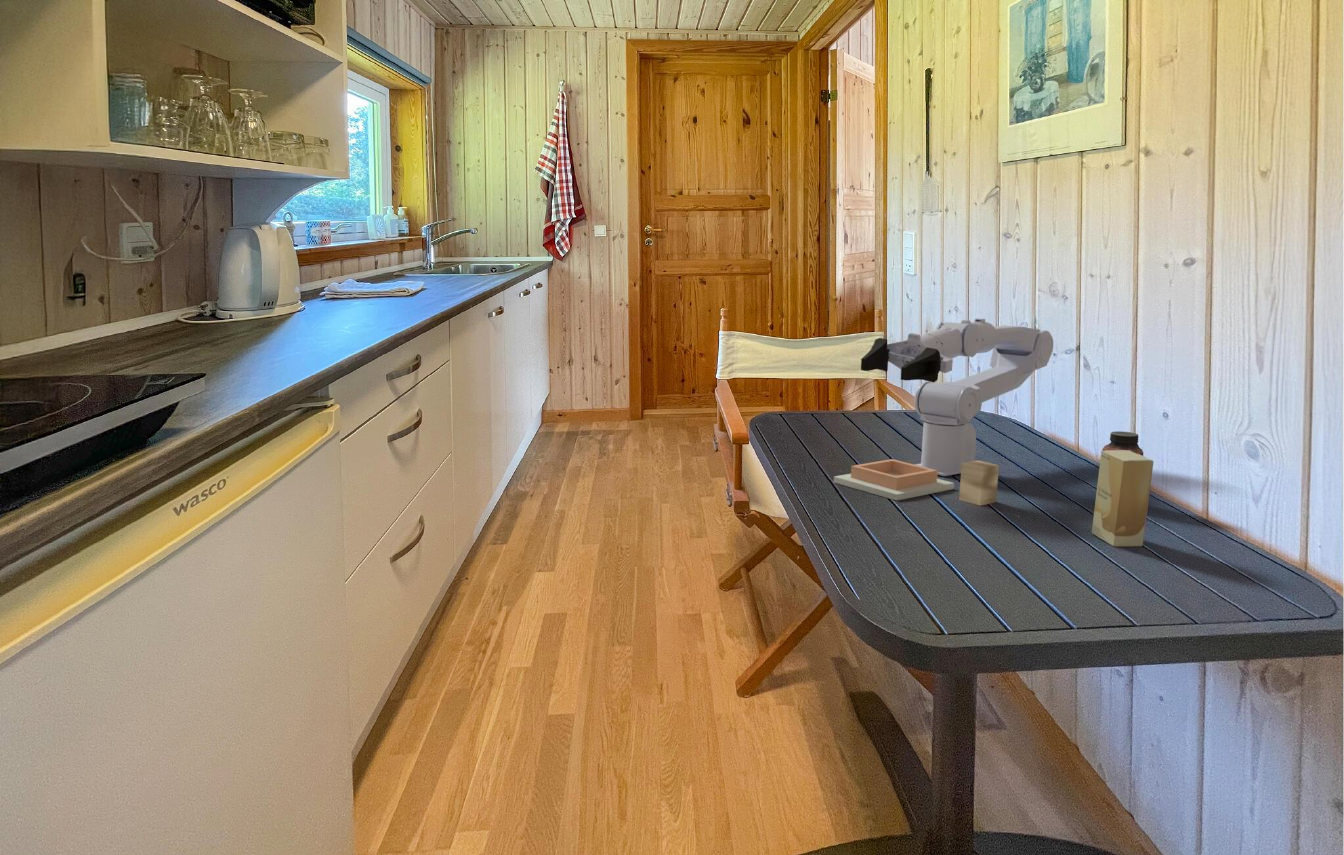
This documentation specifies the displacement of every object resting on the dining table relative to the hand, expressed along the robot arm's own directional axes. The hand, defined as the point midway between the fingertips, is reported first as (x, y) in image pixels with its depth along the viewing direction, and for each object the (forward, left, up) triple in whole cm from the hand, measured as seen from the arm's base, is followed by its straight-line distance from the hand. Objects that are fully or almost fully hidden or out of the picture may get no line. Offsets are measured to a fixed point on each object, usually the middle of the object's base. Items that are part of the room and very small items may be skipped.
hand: (882, 369), depth 156 cm
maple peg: (-8, +14, -20) cm, 26 cm away
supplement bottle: (-26, +27, -20) cm, 43 cm away
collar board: (-4, 0, -20) cm, 20 cm away
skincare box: (-7, +38, -20) cm, 44 cm away
